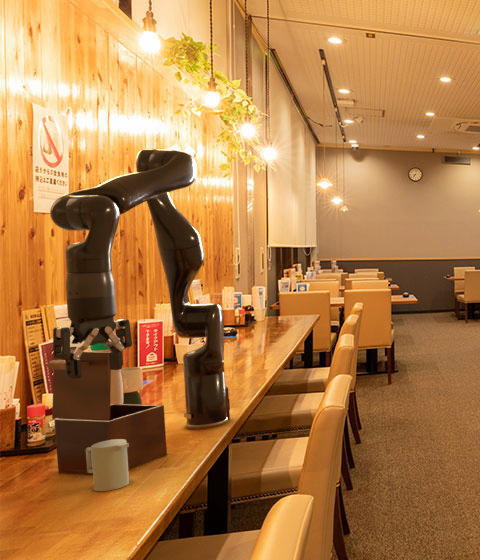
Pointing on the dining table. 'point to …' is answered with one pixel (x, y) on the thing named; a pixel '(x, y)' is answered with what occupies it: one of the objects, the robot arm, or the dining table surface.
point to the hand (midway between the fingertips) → (96, 373)
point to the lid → (82, 388)
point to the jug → (108, 464)
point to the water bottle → (112, 378)
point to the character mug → (132, 385)
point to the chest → (112, 436)
